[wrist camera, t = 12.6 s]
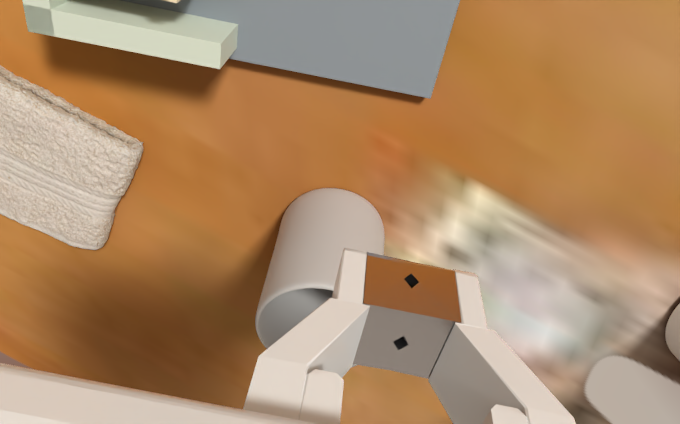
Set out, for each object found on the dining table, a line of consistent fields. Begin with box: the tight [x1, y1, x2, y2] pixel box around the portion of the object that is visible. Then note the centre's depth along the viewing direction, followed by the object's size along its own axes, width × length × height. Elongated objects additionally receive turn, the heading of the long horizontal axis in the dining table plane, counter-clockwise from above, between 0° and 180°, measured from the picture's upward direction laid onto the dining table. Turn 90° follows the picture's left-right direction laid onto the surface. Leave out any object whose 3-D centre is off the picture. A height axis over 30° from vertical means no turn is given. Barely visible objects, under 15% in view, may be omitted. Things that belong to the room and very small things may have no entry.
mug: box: [255, 188, 384, 367], centre depth 37 cm, size 12×8×11 cm
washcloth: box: [0, 65, 143, 250], centre depth 38 cm, size 12×18×3 cm, turn 58°
